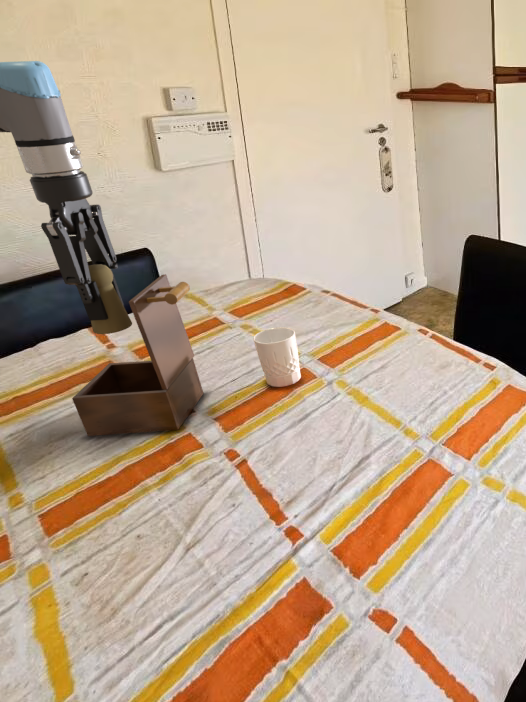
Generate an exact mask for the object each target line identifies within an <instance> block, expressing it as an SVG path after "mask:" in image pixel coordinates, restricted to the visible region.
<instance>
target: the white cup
mask: <svg viewBox="0 0 526 702" xmlns="http://www.w3.org/2000/svg"><path fill="white" fill-rule="evenodd" d="M253 343H254V346H255V350H256V353H257V357H258V360H259V363H260V366H261V369H262V372H263V373H264V377H265V381H266V384H267V385H268V386H270V387H275V388H282V387H288V386H291V385H294V384H296V383H297V382H299V381H300V379H301V378H302V374H301V368H300V365H301V364H300V356H299V350H298V349H299V348H298V344H297V336H296V332H295V330H294V329H292V328H290V327H285V326H284V327H283V326H281V327H280V326H279V327H271V328H267V329H264V330H261V331H258V332H257V333H255V335H253Z"/></svg>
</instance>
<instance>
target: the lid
mask: <svg viewBox="0 0 526 702" xmlns="http://www.w3.org/2000/svg"><path fill="white" fill-rule="evenodd" d="M190 290H191V288H190V285H189V284H188V283H187V282H185V281H180V282H178V283H177V284H176V285H174V286H171V284H170V280H169V278H168V276H167V274H166V273H165V274H161V275H160V276H158V277H157V278H156V279H155V280H153V281H152V282H151V283H149V284H148V286H146V287H145V288H144V289H142V290H141V291H140V292H139V293H137V294H136V295H135V296H134V297H132V298H131V299H130V300H129V301H128V304H129V307H130V309H131V312H132V315H133V318H134V319H135V322H136V325H137V328H138V331H139V333H140V335H141V337H142V340H143V343H144V345H145V349H146V350H147V353H148V356H149V358H150V361H152V364H153V366H154V369H155V371H156V374H157V377H158V379H159V382H160V384H161V387H162V389H163V390H167V389H168V388H169V386H170V385H171V384H172V383H173V382H174V380H175V379H176V378H177V377H178V375H179V374H180V373H181V372H182V370H183V369H184V368H185V367H186V366H187V364H188V363H189V362H190V361H191V359H192V358H193V359H194V357H195V353H194V350H193V347H192V345H191V341H190V339H189V336H188V333H187V331H186V327H185V325H184V322H183V318H182V316H181V313H180V310H179V307H178V302H179V301H180V300H182V298H183V297H185V295H186V294H187V293H189V291H190Z"/></svg>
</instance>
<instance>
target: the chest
mask: <svg viewBox="0 0 526 702" xmlns="http://www.w3.org/2000/svg"><path fill="white" fill-rule="evenodd" d="M203 395H204V389H203V387H202V384H201V380H200V377H199V373H198V369H197V367H196V363H195V360H194V357H193V358H192V359H191V361H190V362H189V363H188V364H187V366H186V367H185V368H184V369H183V370H182V372H181V373H180V374H179V375H178V377H177V378H176V379H175V380H174V382H173V383H172V384H171V385H170V386H169V388H168V389H167V390H163V389H162V387H161V384H160V382H159V379H158V377H157V374H156V371H155V369H154V366H153V364H152V361H151V360H142V361H141V360H140V361H126V362H124V361H123V362H111V363H110V362H109V363H107V365H106V366H105V367H104V368H103V369H101V371H99V373H97V374H96V375H95V376H94V377H93V378H92V379H90V381H89V382H88V383H86V385H84V386H83V387H82V389H80V390H79V391H78V392H77V393H76V394H75V395H74V396H73V397H72V398H71V400H72V402H73V404H74V406H75V409H76V411H77V413H78V416H79V419H80V421H81V424H82V426H83V428H84V430H85V433H86V435H87V437H95V436H108V435H109V436H110V435H123V434H136V433H137V434H138V433H139V434H140V433H152V432H166V431H167V432H169V431H178V430H179V429H180V428H181V427H182V425H183V424H184V422H185V421H186V419H187V418H188V417H189V415H190V413H191V412H192V410H193V409H195V406H196V405H197V403H198V402H199V400H200V399H201V398H202V396H203Z"/></svg>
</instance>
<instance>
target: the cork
mask: <svg viewBox="0 0 526 702" xmlns="http://www.w3.org/2000/svg"><path fill="white" fill-rule="evenodd" d="M88 267H89V272H90V277H91V282H92V281H95V282H96V285H97V287H98V290H99V293H100V296H101V298H102V301H103V304H104V307H105V310H106V312H107V315H108V319H107V320H93V321H90V324H91V329H92V332H93V333H94V334H96V335H110V334H115V333H120V332H123V331H125V330H127V329H129V328H130V327H132V326H133V321H132V320H131V318H130V316H129V314H128V312H127V310H126V307H125V305H124V306H123V304H122V302H121V300H120V298H119V296H118V294H117V292H116V290H115V289H114V287H113V285H112V281H113V274H114V273H113V274H112V271H113V270H112V271H111V270H110V269H109V268H108V267H107V266H105V265H102V264H96V265H94V264H88Z"/></svg>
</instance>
